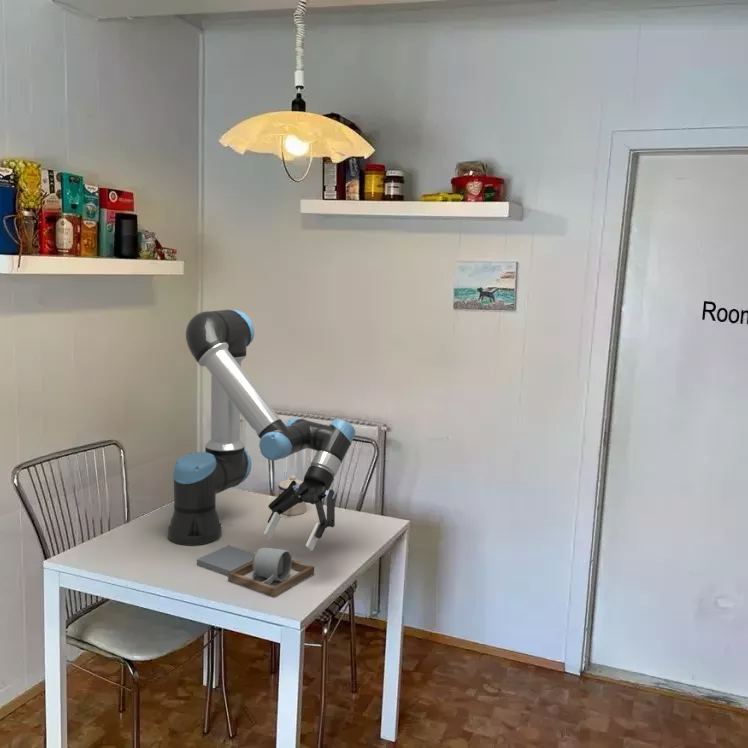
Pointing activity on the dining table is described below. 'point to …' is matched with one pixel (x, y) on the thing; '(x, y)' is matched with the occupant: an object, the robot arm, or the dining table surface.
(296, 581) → the walnut frame
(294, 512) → the teacup with lid
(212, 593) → the dining table surface
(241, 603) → the dining table surface
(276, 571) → the ceramic mug
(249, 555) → the grey board
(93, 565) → the dining table surface
